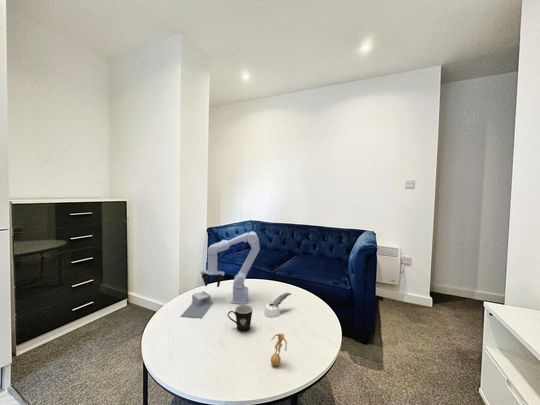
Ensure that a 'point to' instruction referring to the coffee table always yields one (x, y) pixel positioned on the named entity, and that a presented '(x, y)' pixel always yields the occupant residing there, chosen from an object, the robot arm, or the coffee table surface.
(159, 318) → the coffee table surface
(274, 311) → the inkwell
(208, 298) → the medicine box
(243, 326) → the coffee mug
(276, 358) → the figurine
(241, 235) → the robot arm
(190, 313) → the mat
